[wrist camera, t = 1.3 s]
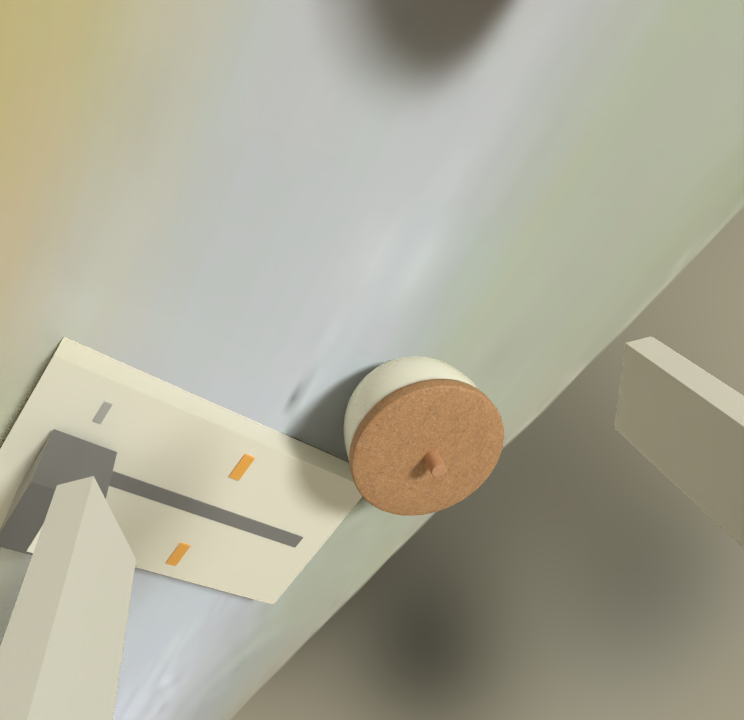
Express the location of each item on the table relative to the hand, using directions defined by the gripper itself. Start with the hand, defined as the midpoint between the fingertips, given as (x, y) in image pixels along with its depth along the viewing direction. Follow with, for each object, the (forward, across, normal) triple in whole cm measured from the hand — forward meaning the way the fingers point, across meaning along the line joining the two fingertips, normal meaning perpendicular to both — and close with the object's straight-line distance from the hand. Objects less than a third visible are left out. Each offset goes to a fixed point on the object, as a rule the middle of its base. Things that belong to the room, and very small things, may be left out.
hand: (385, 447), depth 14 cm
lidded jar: (+24, +6, -16) cm, 30 cm away
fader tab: (+21, -17, -13) cm, 30 cm away
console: (+24, -11, -19) cm, 33 cm away
